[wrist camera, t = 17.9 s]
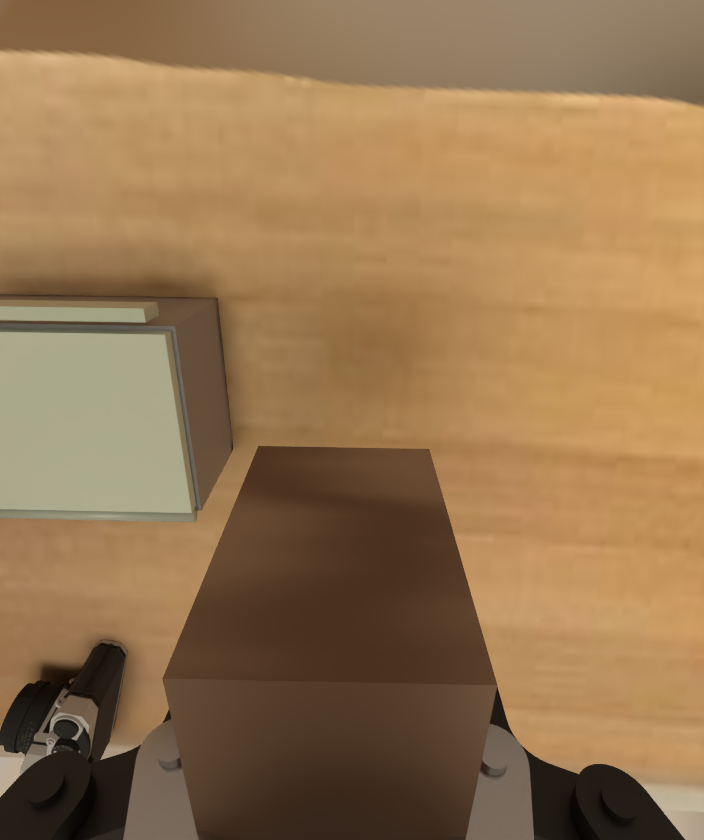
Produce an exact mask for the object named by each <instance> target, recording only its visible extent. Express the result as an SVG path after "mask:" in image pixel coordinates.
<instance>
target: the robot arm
mask: <svg viewBox="0 0 704 840" xmlns="http://www.w3.org/2000/svg"><path fill="white" fill-rule="evenodd" d="M0 840H210V838H209V833H208V831H196V827H195V823H194V818H193V814H192V809H191V805H190V800H189V796H188V791H187V787H186V782H185V778H184V773H183V769H182V764H181V759H180V755H179V750H178V746H177V741H176V737H175V732H174V728H173V723H172V719H171V714H170V710H169V711H168V713H167V715H166V718H165V720H164V721H163V723H162V724H161V725H159V726H158V727H156V728H155V729H154V730H153V731H152V732H151V733H150V734H149V735H148V736H147V737H146V739H145V740H144V741H143V743H142V744H141V745H139V746H138V747H136V748H134V749H132V750H130V751H128V752H125V753H122V754H119V755H116V756H113V757H109V758H106V759H103V760H100V761H97V762H93V763H90V764H89V762H88V760H87V759H86V757H85V756H84V755H82V754H81V753H79V752H76V751H70V750H66V751H59V752H55V753H52V754H50V755H47V756H45V757H43V758H42V759H40V760H38V761H37V762H35V763H34V764H33V765H31V766H30V767H29V768H28V769H26V770H25V771H24V772H23V773H22V774H21V775H20V776H19V778H18V779H17V780H16V781H15V782H14V783H13V784H12V785H11V786H10V787H9V788H8V790H7V791H6V792H5V793H4V794H3V795H2V796H1V797H0ZM450 840H685V839H684V838H683V837H682V835H681V834H680V833H679V831H678V830H677V829H676V828H675V826H674V825H673V824H672V823H671V821H670V820H669V819H668V818H667V816H666V815H665V814H664V813H663V811H662V810H661V809H660V808H659V806H658V805H657V804H656V803H655V801H654V800H653V799H652V798H651V796H650V795H649V794H648V793H647V791H646V790H645V789H644V788H643V787H642V786H641V785H640V784H639V783H638V782H637V781H636V780H635V779H634V778H632V777H631V776H630V775H628V774H627V773H625V772H623V771H622V770H620V769H618V768H615V767H613V766H609V765H605V764H593V765H590V766H588V767H586V768H584V769H583V770H582V771H581V772H580V774H576V773H573V772H571V771H568V770H565V769H562V768H560V767H557V766H554V765H551V764H549V763H546V762H544V761H542V760H540V759H538V758H537V757H535V756H533V755H532V754H531V753H529V752H528V751H527V750H526V749H525V748H524V747H523V746H522V745H521V744H520V743H519V742H518V741H517V739H516V738H515V736H514V735H513V733H512V731H511V729H510V728H509V725H508V722H507V719H506V715H505V712H504V708H503V705H502V701H501V698H500V694H499V691H498V687H497V689H496V694H495V699H494V704H493V709H492V714H491V719H490V723H489V728H488V733H487V738H486V743H485V748H484V753H483V758H482V762H481V767H480V772H479V777H478V782H477V787H476V792H475V796H474V801H473V806H472V811H471V816H470V821H469V826H468V830H467V835H466V837H451V836H450Z"/></svg>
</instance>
